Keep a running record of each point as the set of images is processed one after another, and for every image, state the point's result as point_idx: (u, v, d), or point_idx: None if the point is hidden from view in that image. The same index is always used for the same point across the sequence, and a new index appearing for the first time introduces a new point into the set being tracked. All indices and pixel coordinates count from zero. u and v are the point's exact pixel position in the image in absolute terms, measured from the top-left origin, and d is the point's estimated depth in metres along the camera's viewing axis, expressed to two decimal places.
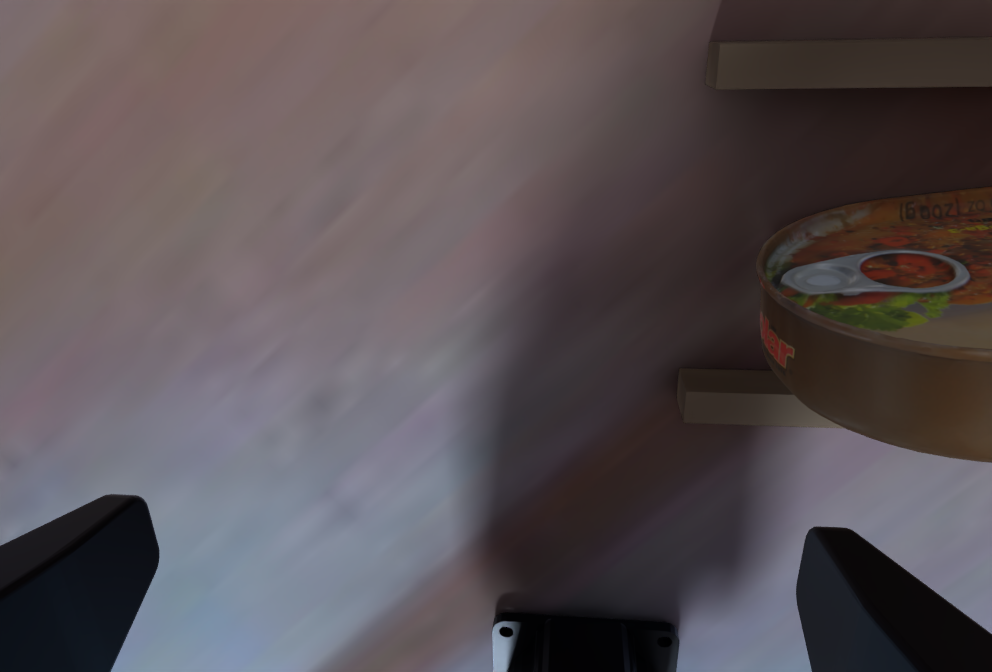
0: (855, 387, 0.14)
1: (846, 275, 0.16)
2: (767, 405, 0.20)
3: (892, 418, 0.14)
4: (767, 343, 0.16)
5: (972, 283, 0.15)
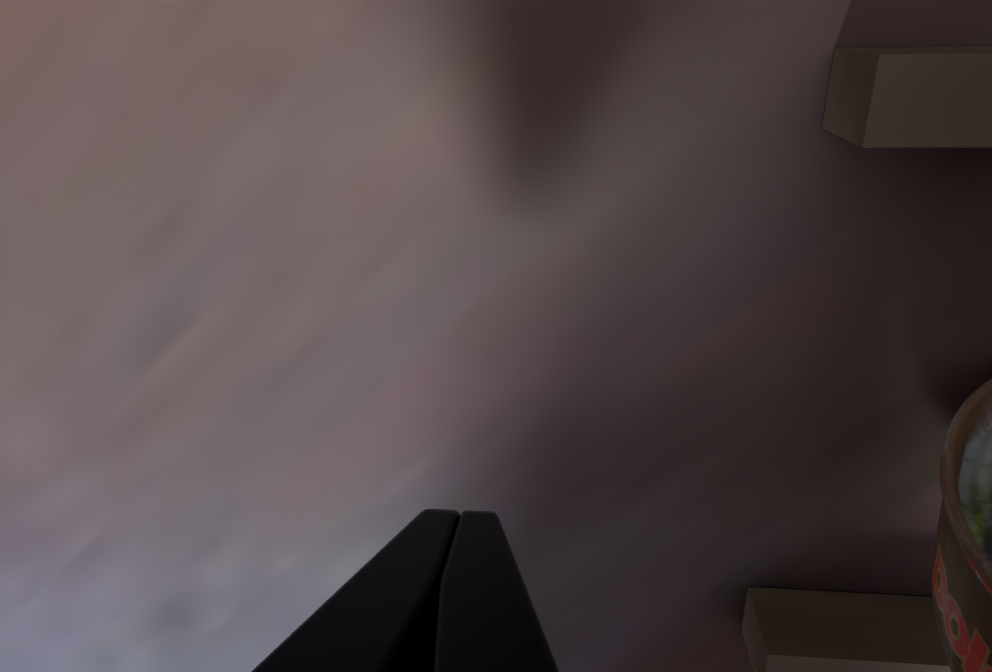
0: None
1: None
2: None
3: None
4: None
5: None
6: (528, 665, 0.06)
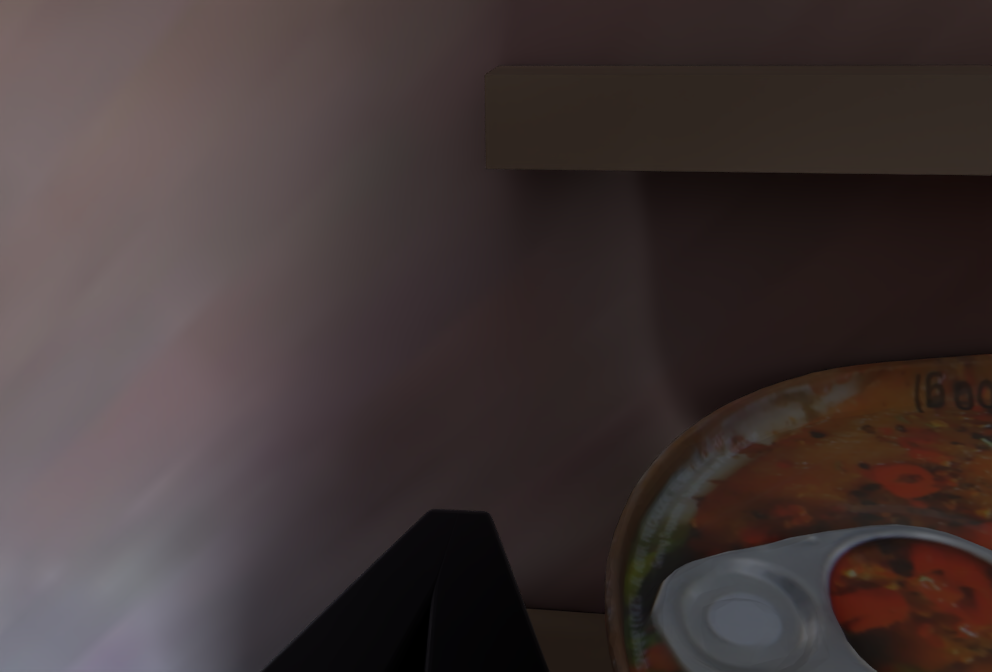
0: None
1: (795, 606, 0.07)
2: None
3: None
4: None
5: None
6: (519, 665, 0.06)
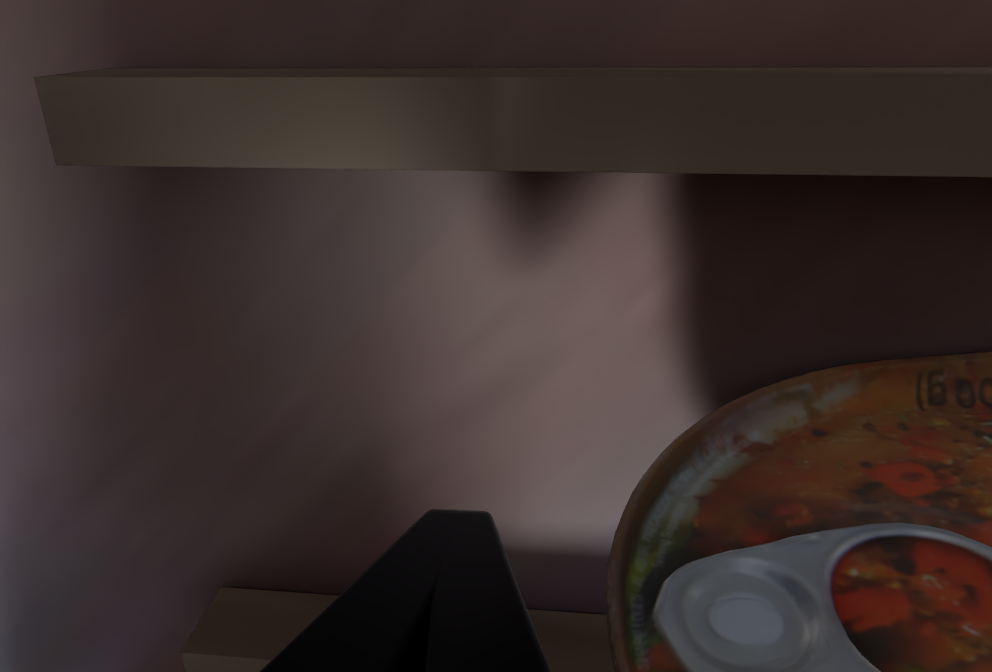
0: None
1: (797, 605, 0.07)
2: None
3: None
4: None
5: None
6: (520, 665, 0.06)
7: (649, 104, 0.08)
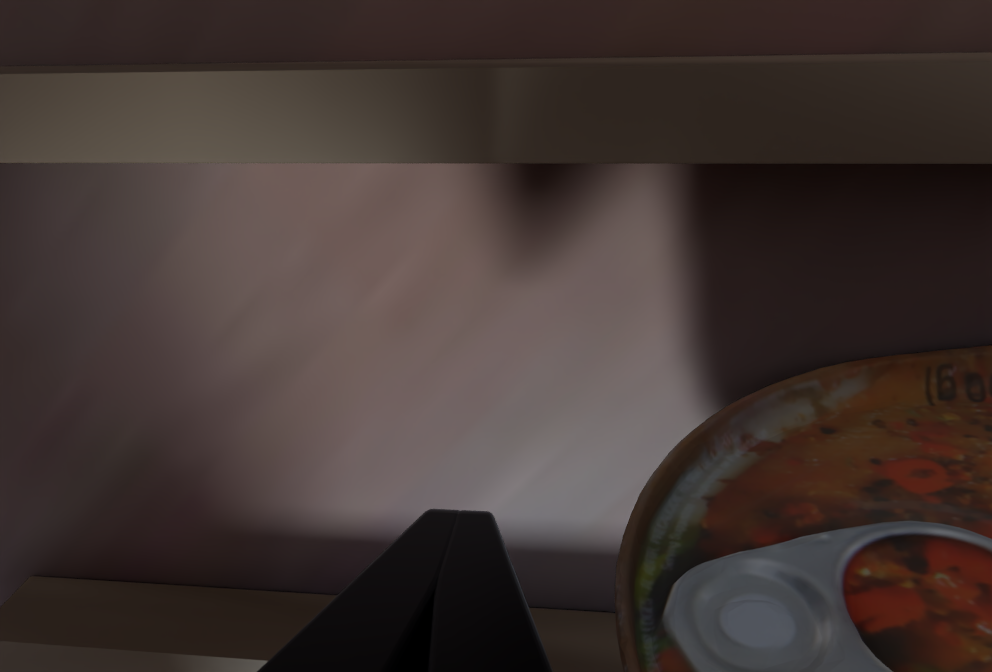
0: None
1: (809, 606, 0.07)
2: (98, 663, 0.12)
3: None
4: None
5: None
6: (523, 665, 0.06)
7: (301, 96, 0.08)
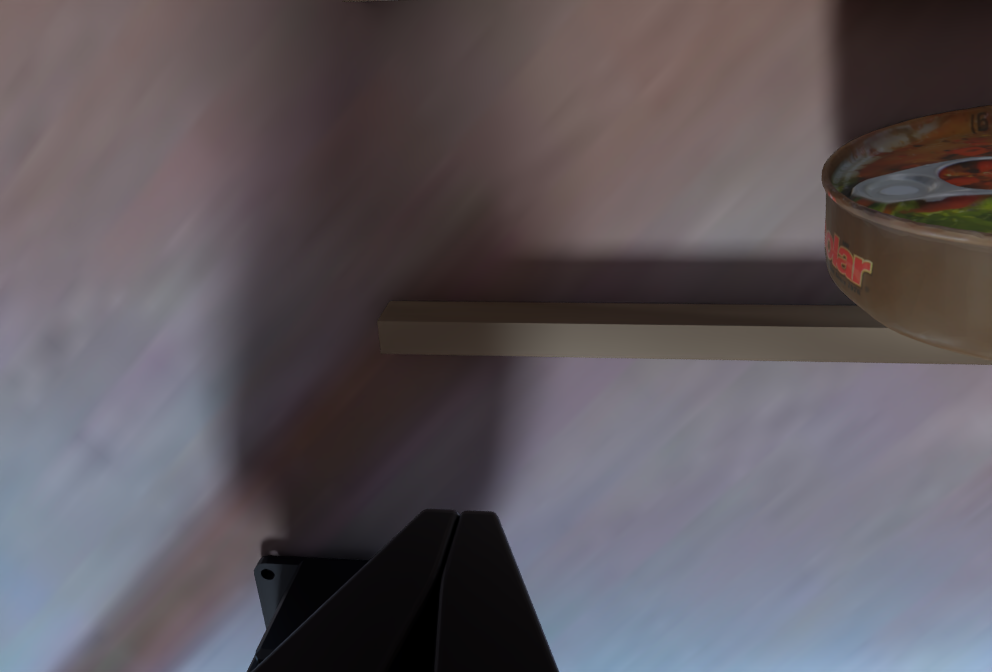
0: (946, 297, 0.13)
1: (924, 183, 0.15)
2: (458, 334, 0.20)
3: (990, 328, 0.12)
4: (837, 263, 0.15)
5: None
6: (529, 665, 0.06)
7: None
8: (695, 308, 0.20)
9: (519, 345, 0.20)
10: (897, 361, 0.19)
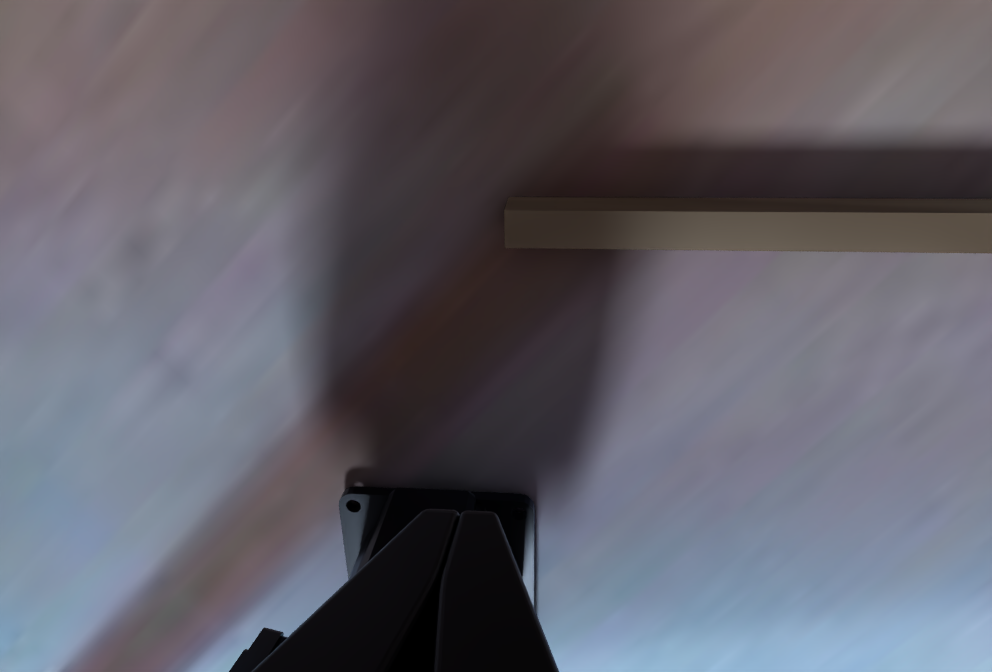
0: None
1: None
2: (591, 224, 0.18)
3: None
4: None
5: None
6: (529, 665, 0.06)
7: None
8: (843, 201, 0.19)
9: (657, 237, 0.18)
10: None
